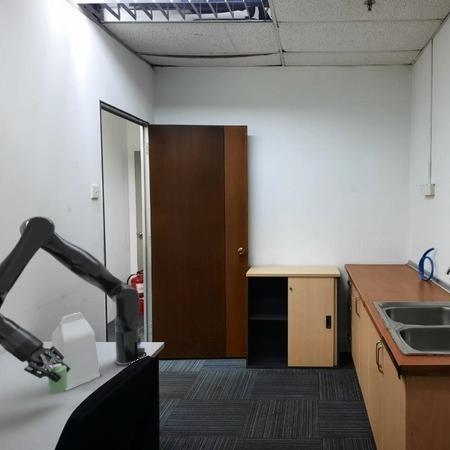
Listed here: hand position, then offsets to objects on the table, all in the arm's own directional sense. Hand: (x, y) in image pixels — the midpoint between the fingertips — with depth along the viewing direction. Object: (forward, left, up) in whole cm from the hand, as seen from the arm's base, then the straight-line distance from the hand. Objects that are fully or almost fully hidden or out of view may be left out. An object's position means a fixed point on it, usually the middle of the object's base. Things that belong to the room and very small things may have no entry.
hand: (63, 375), depth 115 cm
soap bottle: (+2, 0, -5) cm, 5 cm away
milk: (+3, -17, -10) cm, 20 cm away
